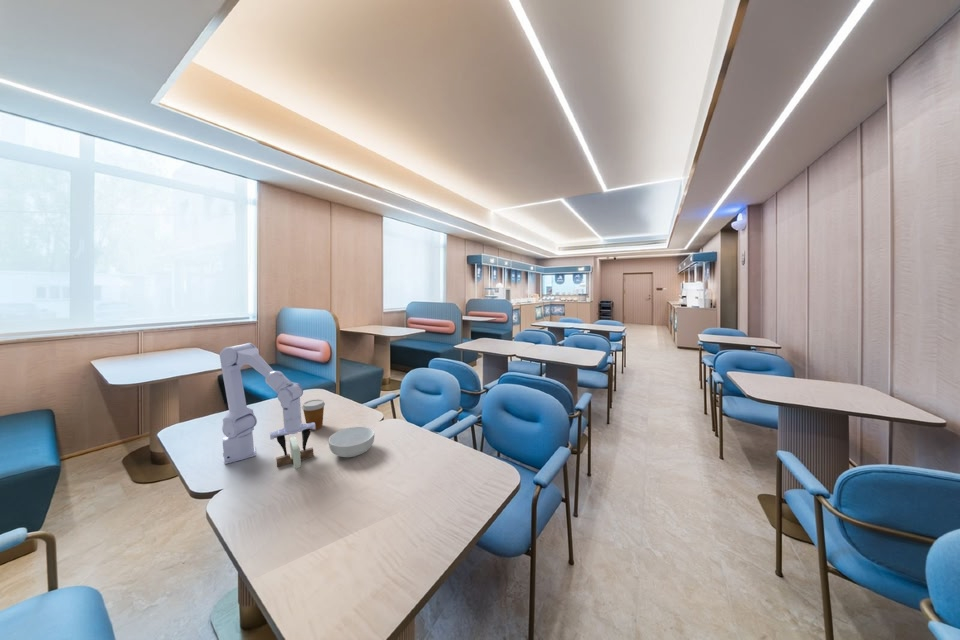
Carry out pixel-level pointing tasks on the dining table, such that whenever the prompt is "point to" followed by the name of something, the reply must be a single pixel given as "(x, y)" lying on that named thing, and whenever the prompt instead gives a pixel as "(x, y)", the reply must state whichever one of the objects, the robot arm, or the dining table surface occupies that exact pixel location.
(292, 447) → the sage slot plate
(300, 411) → the robot arm
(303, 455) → the walnut slot board
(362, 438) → the cereal bowl
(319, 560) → the dining table surface
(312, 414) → the disposable coffee cup
